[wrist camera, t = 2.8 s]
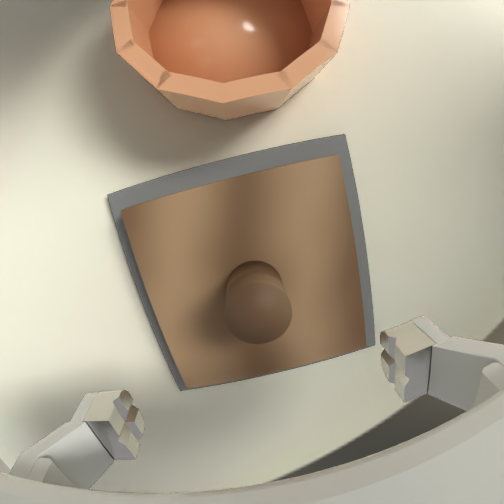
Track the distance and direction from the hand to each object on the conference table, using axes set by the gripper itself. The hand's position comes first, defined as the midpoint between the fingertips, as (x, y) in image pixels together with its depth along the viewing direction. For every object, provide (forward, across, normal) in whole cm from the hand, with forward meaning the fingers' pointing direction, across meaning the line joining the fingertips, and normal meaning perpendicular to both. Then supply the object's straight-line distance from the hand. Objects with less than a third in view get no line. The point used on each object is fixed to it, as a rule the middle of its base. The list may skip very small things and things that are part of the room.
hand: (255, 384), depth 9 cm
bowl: (+9, -3, -14) cm, 17 cm away
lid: (+9, -1, 0) cm, 9 cm away
